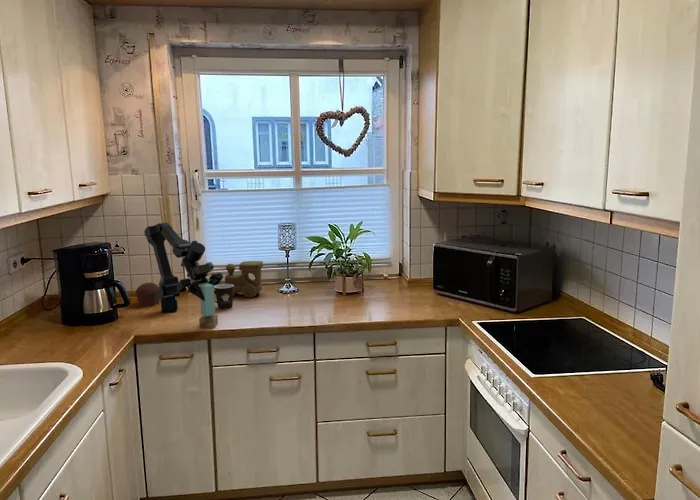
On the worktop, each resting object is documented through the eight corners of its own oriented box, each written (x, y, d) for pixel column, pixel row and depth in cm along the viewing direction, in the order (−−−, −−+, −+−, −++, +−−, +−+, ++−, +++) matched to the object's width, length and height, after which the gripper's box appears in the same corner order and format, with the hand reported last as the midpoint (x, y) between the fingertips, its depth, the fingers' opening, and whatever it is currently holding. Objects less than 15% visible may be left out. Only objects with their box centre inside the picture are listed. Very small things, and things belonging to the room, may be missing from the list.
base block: (199, 328, 213) (199, 319, 212) (203, 324, 219) (202, 314, 218) (214, 328, 213) (214, 318, 212) (218, 324, 219) (217, 314, 218)
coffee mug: (237, 304, 247) (236, 283, 245) (231, 310, 238) (230, 288, 236) (213, 304, 248) (211, 283, 246) (206, 309, 239) (204, 288, 238)
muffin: (156, 307, 244) (154, 286, 243) (132, 307, 244) (130, 286, 243) (165, 300, 256) (163, 280, 254) (142, 301, 256) (141, 280, 254)
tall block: (201, 314, 215) (199, 285, 213) (209, 312, 218) (208, 283, 216) (206, 316, 212) (204, 287, 210) (215, 314, 215) (213, 285, 213)
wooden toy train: (264, 292, 269) (263, 260, 266) (260, 298, 258) (258, 264, 255) (225, 292, 270) (224, 260, 267) (219, 298, 259) (217, 265, 256)
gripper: (178, 259, 207) (194, 292, 202) (219, 253, 220) (236, 283, 215) (169, 276, 214) (185, 308, 208) (210, 269, 227) (226, 298, 222)
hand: (209, 299), depth 213 cm, fingers closed on tall block, 4 cm apart
